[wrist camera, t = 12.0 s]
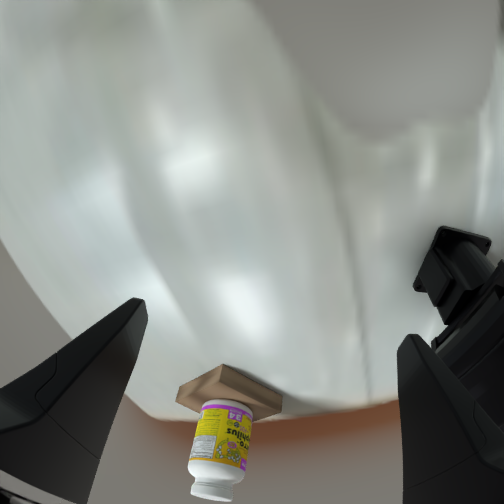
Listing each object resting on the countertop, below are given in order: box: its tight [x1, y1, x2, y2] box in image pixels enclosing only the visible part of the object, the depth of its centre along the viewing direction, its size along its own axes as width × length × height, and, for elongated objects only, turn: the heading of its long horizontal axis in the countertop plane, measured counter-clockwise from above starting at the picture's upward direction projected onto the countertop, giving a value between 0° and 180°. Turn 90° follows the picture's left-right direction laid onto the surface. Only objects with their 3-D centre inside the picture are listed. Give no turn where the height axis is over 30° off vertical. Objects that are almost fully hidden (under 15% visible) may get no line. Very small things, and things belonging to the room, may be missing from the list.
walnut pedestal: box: [175, 364, 282, 422], centre depth 35 cm, size 10×10×2 cm
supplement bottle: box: [188, 399, 253, 501], centre depth 29 cm, size 7×7×13 cm
